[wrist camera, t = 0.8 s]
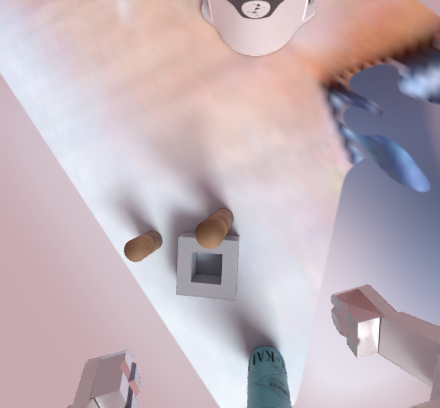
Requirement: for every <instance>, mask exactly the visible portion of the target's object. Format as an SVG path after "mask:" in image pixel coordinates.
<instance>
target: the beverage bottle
mask: <svg viewBox="0 0 440 408" xmlns="http://www.w3.org/2000/svg"><path fill="white" fill-rule="evenodd" d="M282 357H283V356H281V354H280V353H279V352H278V351H277V350H276V349H274V348H272V347H267V346H264V347H260V348H257V349H256V350H255V351H254V352H253V353H252V354H251V356H250V359H249V361H248V362H249V367H248V374H247V375H248V377H247V379H248V393H247V394H248V400H247V408H292V407H291V404H292V403H290V395H289V389H288V387H289V384H288V383H287V378H288V377H286V374H287V373H286V370H285V369H286V368H285V366H286V365H285V364H284V363H285V360H284V359H283V358H282Z"/></svg>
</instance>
